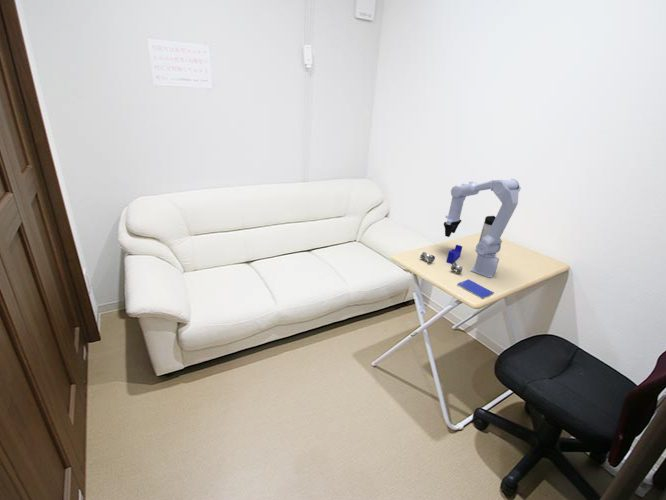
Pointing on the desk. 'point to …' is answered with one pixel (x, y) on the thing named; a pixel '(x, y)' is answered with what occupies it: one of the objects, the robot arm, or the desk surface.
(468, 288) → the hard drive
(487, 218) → the travel mug
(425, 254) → the shaft
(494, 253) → the robot arm
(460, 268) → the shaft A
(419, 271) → the desk surface
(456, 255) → the cable clip
